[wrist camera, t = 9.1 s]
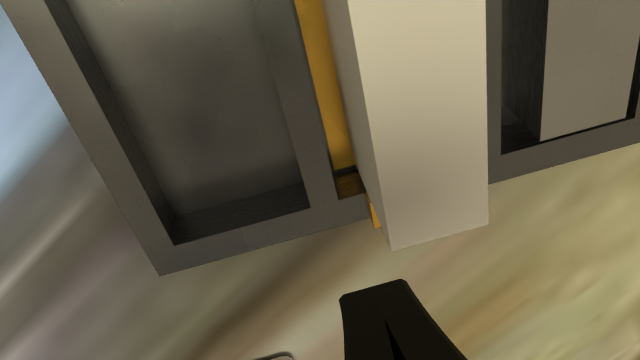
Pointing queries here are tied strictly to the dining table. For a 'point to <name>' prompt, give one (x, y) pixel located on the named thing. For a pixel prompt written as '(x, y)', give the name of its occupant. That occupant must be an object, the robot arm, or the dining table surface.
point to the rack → (298, 108)
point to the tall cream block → (415, 110)
